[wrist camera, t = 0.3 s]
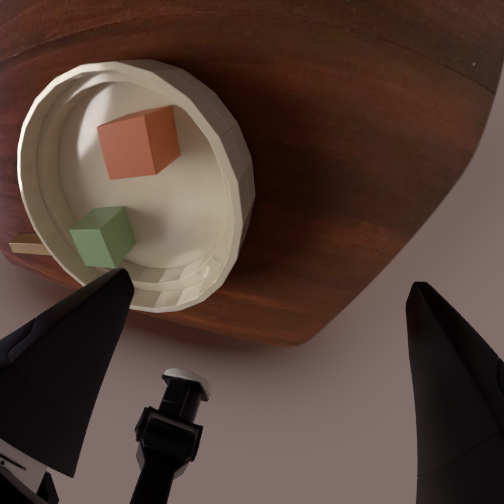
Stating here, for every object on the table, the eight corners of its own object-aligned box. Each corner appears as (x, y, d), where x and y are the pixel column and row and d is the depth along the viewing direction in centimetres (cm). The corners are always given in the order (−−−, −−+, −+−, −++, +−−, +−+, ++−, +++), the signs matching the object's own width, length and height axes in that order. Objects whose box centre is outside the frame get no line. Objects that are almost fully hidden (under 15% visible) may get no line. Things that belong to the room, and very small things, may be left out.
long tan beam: (71, 244, 29) (60, 256, 27) (23, 242, 31) (13, 252, 29) (66, 232, 28) (54, 244, 26) (19, 233, 30) (8, 243, 29)
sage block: (136, 242, 26) (116, 268, 23) (106, 242, 27) (85, 266, 24) (124, 205, 24) (100, 229, 20) (93, 207, 24) (69, 230, 21)
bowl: (264, 283, 27) (255, 324, 23) (90, 270, 31) (68, 297, 27) (241, 32, 15) (219, 21, 11) (34, 100, 19) (-3, 114, 15)
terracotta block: (181, 155, 20) (157, 175, 17) (137, 160, 21) (109, 180, 18) (172, 104, 18) (144, 114, 15) (127, 114, 19) (95, 126, 15)
